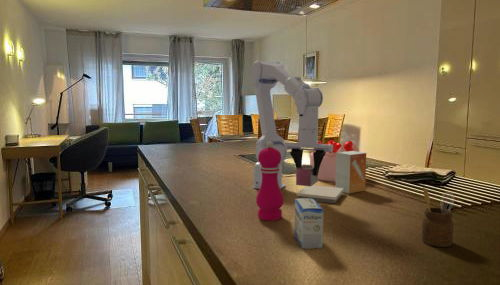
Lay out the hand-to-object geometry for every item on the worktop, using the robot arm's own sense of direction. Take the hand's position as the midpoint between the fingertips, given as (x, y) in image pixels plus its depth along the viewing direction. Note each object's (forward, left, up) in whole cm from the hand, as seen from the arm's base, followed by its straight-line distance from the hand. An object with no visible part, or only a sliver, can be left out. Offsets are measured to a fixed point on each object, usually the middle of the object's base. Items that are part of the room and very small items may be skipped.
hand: (307, 174), depth 108 cm
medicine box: (+9, -30, -9) cm, 33 cm away
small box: (+9, +19, -9) cm, 23 cm away
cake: (-1, +39, -9) cm, 40 cm away
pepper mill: (-5, -18, -9) cm, 21 cm away
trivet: (+2, +7, -8) cm, 11 cm away
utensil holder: (+34, -19, -9) cm, 40 cm away
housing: (0, 0, -3) cm, 3 cm away
